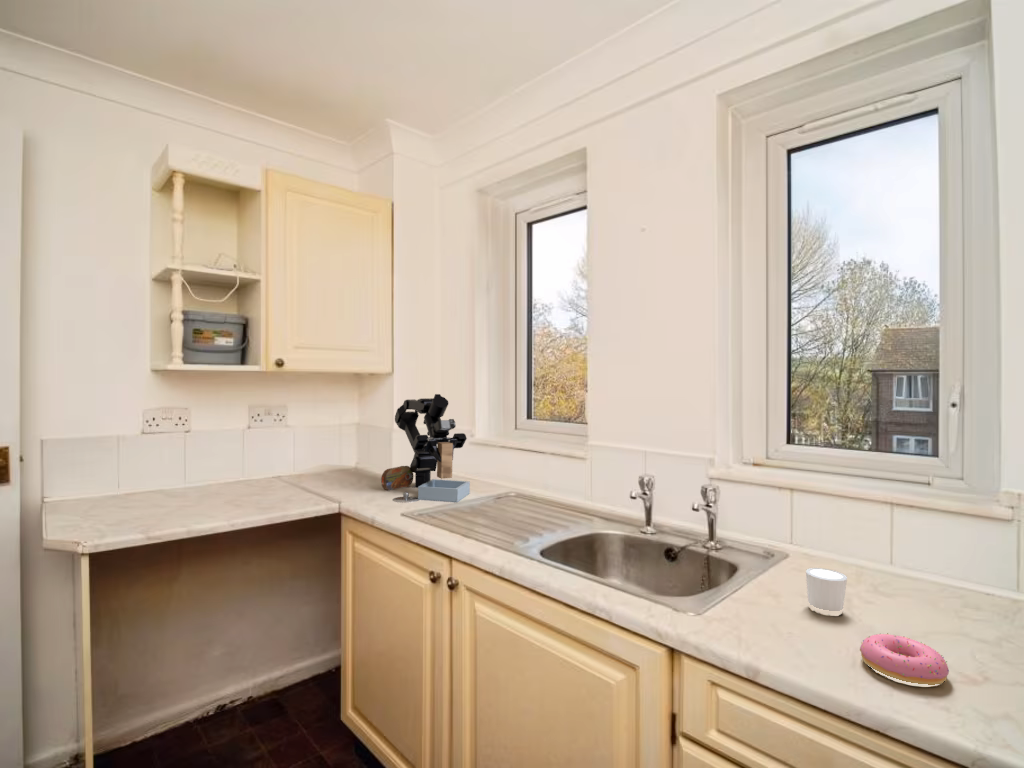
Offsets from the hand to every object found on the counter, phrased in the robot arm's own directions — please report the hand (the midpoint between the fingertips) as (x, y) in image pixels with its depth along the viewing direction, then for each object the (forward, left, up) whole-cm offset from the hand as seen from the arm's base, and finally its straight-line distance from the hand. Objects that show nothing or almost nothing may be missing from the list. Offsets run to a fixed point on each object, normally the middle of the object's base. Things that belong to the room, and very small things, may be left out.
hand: (446, 460), depth 190 cm
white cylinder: (+67, +99, -14) cm, 120 cm away
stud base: (+7, -12, -13) cm, 19 cm away
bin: (-1, -1, -13) cm, 13 cm away
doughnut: (+88, +103, -14) cm, 136 cm away
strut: (-1, -1, -6) cm, 6 cm away
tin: (-11, -23, -14) cm, 29 cm away
